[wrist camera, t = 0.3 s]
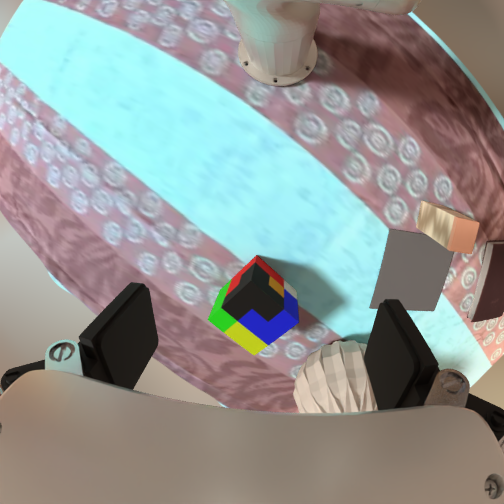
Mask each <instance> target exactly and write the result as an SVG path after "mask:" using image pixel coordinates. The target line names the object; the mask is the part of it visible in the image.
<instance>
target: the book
mask: <svg viewBox="0 0 504 504" xmlns="http://www.w3.org/2000/svg"><path fill="white" fill-rule="evenodd" d="M503 312H504V240H498V241H497V240H493V241H487V243H486V247H485V252H484V257H483V262H482V267H481V271H480V276H479V280H478V284H477V287H476V291H475V295H474V298H473V302H472V305H471V308H470V310H469V313H468V316H467V318H468V317H469V318H470V319H471V320H472V321H471V322H478V321H483V320H488V319H493V318H497V317H500V316H502V315H503Z"/></svg>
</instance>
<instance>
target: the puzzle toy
mask: <svg viewBox="0 0 504 504" xmlns="http://www.w3.org/2000/svg"><path fill="white" fill-rule="evenodd" d="M208 320H209V321H210V322H211V323H212V324H214V325H215V326H216V327H217V328H219V329H220V330H221V331H222V332H224V333H225V334H226V335H228V336H229V337H230V338H231V339H233V340H234V341H235V342H237V343H238V344H239V345H241V346H242V347H243V348H245V349H246V350H247V351H249V352H250V353H251V354H253V355H256V354H257V353H258V352H260V351H261V350H263V349H264V348H265V347H267V346H268V345H270V344H271V343H272V342H274V341H275V340H276V339H278V338H279V337H280V336H282V335H283V334H284V333H286V332H287V331H288V330H290V329H291V328H292V327H294V326H295V325H296V324H297V323H299V314H298V302H297V291H296V290H295V289H294V288H293V287H292V286H291V285H289V284H288V283H287V282H286V281H285V280H284V279H283V278H282V277H281V276H280V275H278V274H277V273H276V272H275V271H274V270H273V269H272V268H271V267H270V266H269V265H267V264H266V263H265V262H264V261H263V260H262V259H261V258H260V257H259V256H258V255H256V256H255V257H254V258H253V259H252V260H251V261H250V262H249V263H248V264H247V265H246V266H245V267H244V268H243V269H242V270H241V271H240V272H239V273H237V274H236V275H235V276H234V277H233V278H232V279H231V280H230V281H229V282H228V283H227V284H226V285H225V286H224V287H223V288H222V289H221V290H220V292H219V294H218V296H217V299H216V301H215V304H214V306H213V308H212V311H211V313H210V316H209V318H208Z"/></svg>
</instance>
